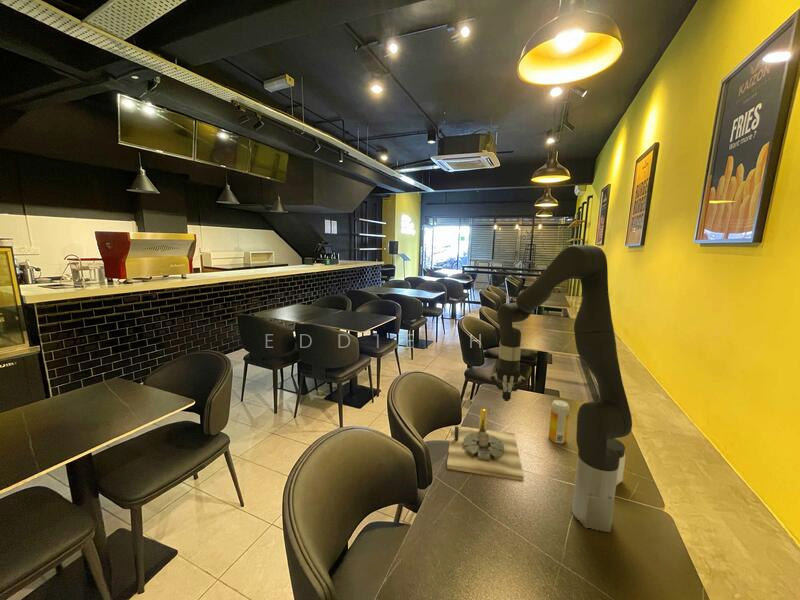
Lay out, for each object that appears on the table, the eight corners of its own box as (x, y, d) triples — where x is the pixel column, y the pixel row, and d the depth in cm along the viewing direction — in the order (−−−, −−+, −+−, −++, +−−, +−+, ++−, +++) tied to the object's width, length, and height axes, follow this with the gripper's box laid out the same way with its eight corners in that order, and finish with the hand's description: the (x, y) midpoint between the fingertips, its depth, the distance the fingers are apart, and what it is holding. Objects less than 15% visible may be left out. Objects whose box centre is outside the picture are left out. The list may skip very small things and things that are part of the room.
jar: (589, 479, 100) (593, 445, 98) (588, 464, 107) (592, 432, 105) (623, 490, 96) (628, 454, 94) (620, 473, 103) (625, 440, 101)
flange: (505, 462, 105) (507, 437, 104) (462, 456, 108) (463, 431, 107) (500, 431, 123) (502, 409, 121) (464, 427, 126) (465, 405, 124)
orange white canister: (562, 435, 124) (565, 399, 121) (568, 445, 118) (572, 407, 115) (546, 434, 125) (549, 398, 122) (552, 443, 119) (555, 406, 116)
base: (523, 480, 100) (524, 462, 99) (446, 468, 105) (447, 450, 104) (514, 436, 123) (515, 421, 122) (451, 428, 128) (452, 413, 127)
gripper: (491, 358, 114) (488, 402, 117) (530, 361, 111) (526, 407, 114) (490, 351, 121) (487, 393, 124) (526, 354, 118) (523, 397, 121)
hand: (506, 400), depth 119 cm, fingers closed
